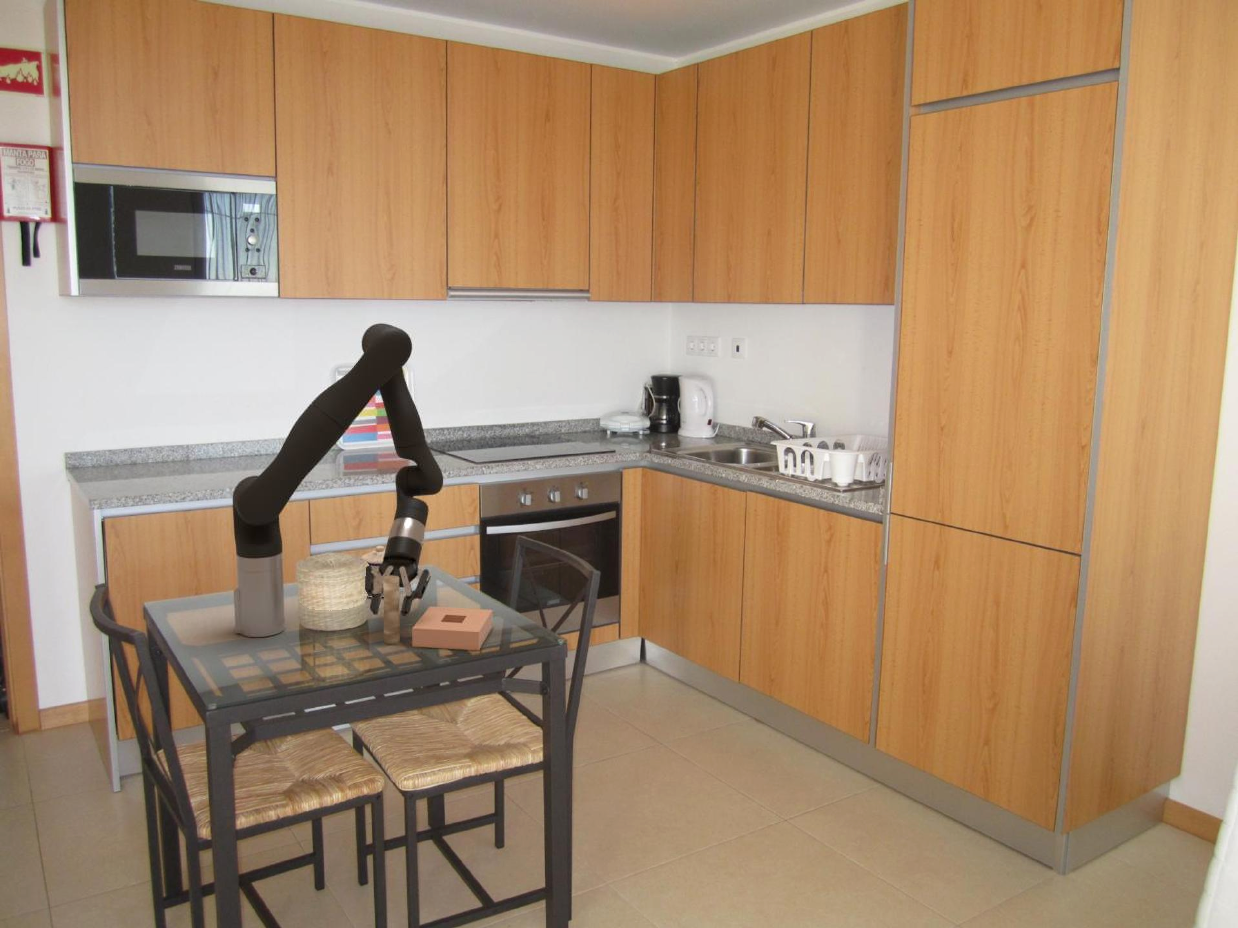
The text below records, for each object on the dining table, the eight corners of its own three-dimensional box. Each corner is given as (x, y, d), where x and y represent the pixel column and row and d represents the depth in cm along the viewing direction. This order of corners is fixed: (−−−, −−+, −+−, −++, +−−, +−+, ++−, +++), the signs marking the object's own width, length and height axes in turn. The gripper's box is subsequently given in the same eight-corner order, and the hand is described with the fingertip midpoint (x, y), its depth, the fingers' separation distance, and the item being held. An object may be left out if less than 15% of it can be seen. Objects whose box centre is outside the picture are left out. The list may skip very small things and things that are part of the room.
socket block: (412, 646, 211) (412, 628, 211) (430, 623, 225) (430, 606, 224) (478, 650, 210) (478, 631, 210) (492, 627, 224) (492, 609, 223)
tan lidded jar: (404, 596, 243) (403, 549, 241) (366, 601, 239) (365, 553, 237) (390, 582, 253) (390, 537, 251) (354, 586, 249) (353, 540, 247)
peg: (382, 643, 212) (381, 579, 210) (386, 638, 215) (386, 575, 213) (397, 644, 212) (396, 580, 209) (401, 639, 215) (401, 575, 213)
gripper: (368, 533, 218) (350, 604, 208) (434, 536, 217) (419, 608, 207) (376, 550, 224) (359, 620, 214) (440, 553, 223) (426, 623, 213)
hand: (389, 613), depth 211 cm, fingers open, 5 cm apart
